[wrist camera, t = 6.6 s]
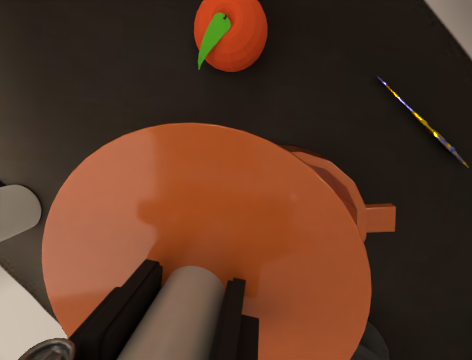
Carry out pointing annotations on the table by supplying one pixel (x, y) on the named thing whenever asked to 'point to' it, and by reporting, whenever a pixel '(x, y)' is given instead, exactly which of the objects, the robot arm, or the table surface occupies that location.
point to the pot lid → (209, 243)
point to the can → (17, 210)
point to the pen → (427, 126)
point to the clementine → (230, 33)
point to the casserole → (371, 345)
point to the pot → (349, 194)
